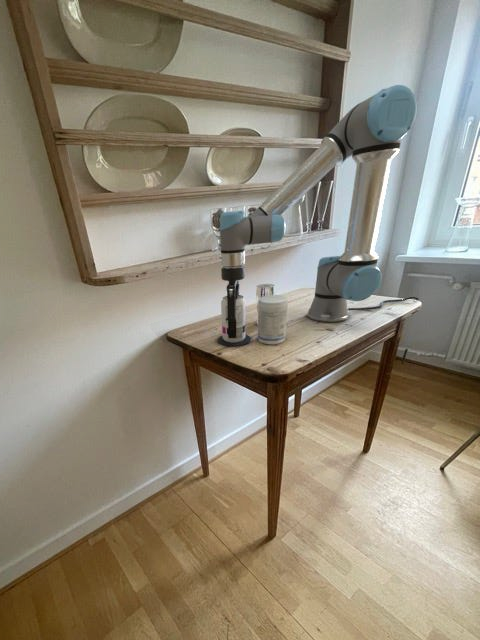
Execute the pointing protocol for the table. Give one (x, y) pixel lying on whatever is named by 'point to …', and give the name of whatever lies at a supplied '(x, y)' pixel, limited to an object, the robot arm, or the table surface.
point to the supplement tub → (272, 319)
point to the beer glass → (263, 292)
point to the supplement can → (239, 320)
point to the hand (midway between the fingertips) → (233, 333)
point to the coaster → (243, 342)
